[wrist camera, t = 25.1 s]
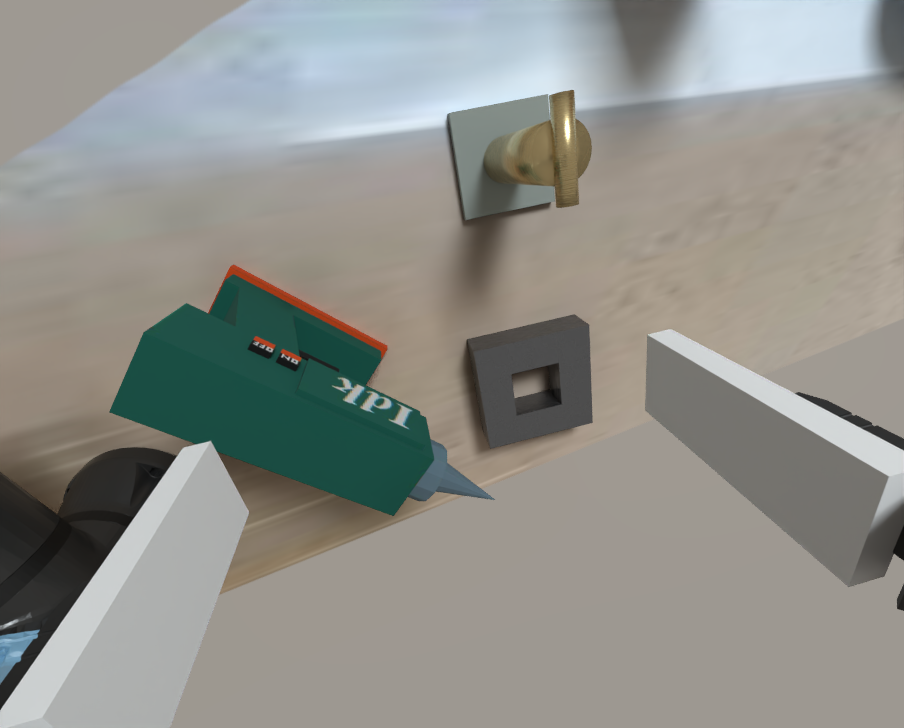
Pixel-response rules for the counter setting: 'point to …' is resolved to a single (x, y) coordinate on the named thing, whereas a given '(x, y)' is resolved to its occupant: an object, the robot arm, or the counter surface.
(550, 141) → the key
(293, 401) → the power tool
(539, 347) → the chuck block
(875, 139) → the counter surface
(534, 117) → the pad
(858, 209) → the counter surface
